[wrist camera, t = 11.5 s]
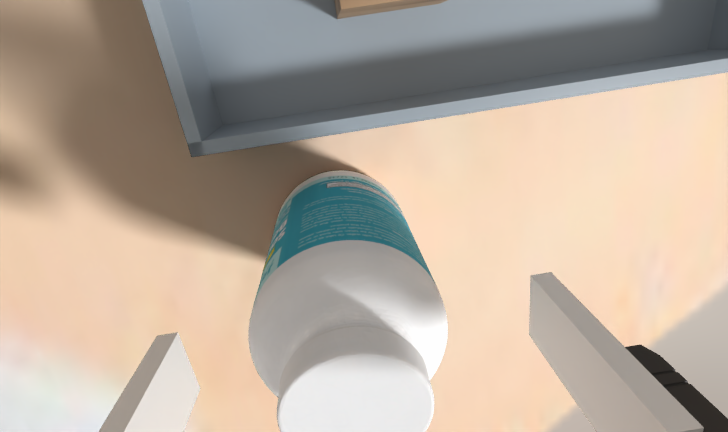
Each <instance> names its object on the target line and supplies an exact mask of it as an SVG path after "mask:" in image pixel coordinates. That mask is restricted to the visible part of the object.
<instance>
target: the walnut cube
mask: <svg viewBox="0 0 728 432" xmlns="http://www.w3.org/2000/svg"><path fill="white" fill-rule="evenodd" d="M334 1H335V8H336V15H337V19H341V18H348V17H355V16H361V15H368V14H375V13H382V12H388V11H395V10H402V9H408V8H415V7H422V6H428V5H435V4H440V3H443V2H445V1H448V0H334Z"/></svg>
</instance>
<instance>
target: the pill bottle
mask: <svg viewBox="0 0 728 432" xmlns="http://www.w3.org/2000/svg"><path fill="white" fill-rule="evenodd" d="M447 337H448V322H447V316H446V311H445V307H444V304H443V300H442V298H441V295H440V293H439V291H438V288H437V286H436V284H435V282H434V280H433V278H432V276H431V274H430V271H429V269H428V267H427V265H426V263H425V261H424V259H423V257H422V255H421V252H420V250H419V248H418V246H417V244H416V242H415V239H414V237H413V235H412V233H411V231H410V229H409V226H408V224H407V222H406V220H405V218H404V216H403V213H402V211H401V209H400V207H399V205H398V203H397V202H396V200H395V198H394V197H393V196H392V194H391V193H390V192H389V191H388V190H387V189H386V188H385V187H384V186H383V185H382V184H380V183H379V182H378V181H376V180H374V179H372V178H371V177H368V176H366V175H364V174H360V173H357V172H352V171H329V172H325V173H321V174H318V175H315V176H313V177H311V178H309V179H307V180H305V181H304V182H302V183H301V184H300V185H298V186H297V187H296V188H295V189H294V190H293V191H292V192H291V193H290V194H289V196H288V197H287V198H286V200H285V201H284V203H283V205H282V207H281V209H280V211H279V214H278V218H277V221H276V225H275V229H274V232H273V236H272V240H271V244H270V248H269V251H268V255H267V258H266V262H265V266H264V269H263V273H262V277H261V281H260V284H259V288H258V291H257V295H256V298H255V301H254V305H253V309H252V313H251V317H250V323H249V348H250V353H251V357H252V360H253V363H254V365H255V368H256V370H257V372H258V374H259V376H260V377H261V379H262V380H263V382H264V383H265V384H266V386H267V387H268V388H269V389H270V390H271V391H272V392H273V393H274V394H275V395H276V396H277V397H278V405H277V420H278V426H279V429H280V432H426V430H427V428H428V426H429V424H430V422H431V420H432V417H433V412H434V395H433V391H432V387H431V383H430V379H431V378H432V377H433V375H434V374H435V372H436V370H437V369H438V367H439V365H440V362H441V360H442V358H443V355H444V352H445V348H446V344H447Z"/></svg>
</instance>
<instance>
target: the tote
mask: <svg viewBox="0 0 728 432" xmlns="http://www.w3.org/2000/svg"><path fill="white" fill-rule="evenodd" d="M142 1H143V5H144V8H145V11H146V14H147V17H148V21H149V24H150V27H151V30H152V33H153V36H154V40H155V43H156V46H157V49H158V52H159V55H160V59H161V62H162V65H163V68H164V71H165V74H166V78H167V81H168V84H169V87H170V90H171V93H172V97H173V100H174V103H175V106H176V109H177V112H178V116H179V119H180V122H181V125H182V128H183V131H184V135H185V138H186V141H187V144H188V147H189V150H190V154H191V157H196V156H202V155H208V154H215V153H221V152H227V151H234V150H240V149H246V148H253V147H259V146H265V145H271V144H278V143H284V142H290V141H297V140H303V139H309V138H316V137H322V136H328V135H335V134H341V133H347V132H353V131H360V130H366V129H372V128H379V127H385V126H391V125H398V124H404V123H410V122H417V121H423V120H429V119H435V118H442V117H448V116H454V115H461V114H467V113H473V112H480V111H486V110H492V109H499V108H505V107H511V106H517V105H524V104H530V103H536V102H543V101H549V100H555V99H562V98H568V97H574V96H581V95H587V94H593V93H599V92H606V91H612V90H618V89H625V88H631V87H637V86H644V85H650V84H656V83H663V82H669V81H675V80H681V79H688V78H694V77H700V76H707V75H713V74H719V73H726V72H728V0H448V1H445V2H443V3H440V4H435V5H428V6H422V7H415V8H408V9H402V10H395V11H388V12H382V13H375V14H368V15H361V16H355V17H348V18H341V19H337V15H336V8H335V1H334V0H142Z"/></svg>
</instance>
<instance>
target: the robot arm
mask: <svg viewBox="0 0 728 432" xmlns="http://www.w3.org/2000/svg"><path fill="white" fill-rule="evenodd" d="M529 335H530V337H531V338H532V340H533V341H534V343H535V344H536V345H537V347H538V348H539V350H540V351H541V353H542V354H543V356H544V357H545V359H546V360H547V361H548V363H549V364H550V366H551V367H552V369H553V370H554V372H555V373H556V374H557V376H558V377H559V379H560V380H561V382H562V383H563V385H564V386H565V387H566V389H567V390H568V392H569V393H570V395H571V396H572V398H573V399H574V400H575V402H576V403H577V405H578V406H579V408H580V409H581V411H582V412H583V413H584V415H585V416H586V418H587V419H588V421H589V422H590V424H591V425H592V426H593V428H594V429H595V431H596V432H728V419H727V418H726V417H725V416H724V415H723V414H722V413H721V412H720V411H719V410H718V409H717V408H716V407H715V406H713V405H712V404H711V403H710V402H709V401H708V400H707V399H706V398H705V397H704V396H703V395H702V394H700V392H699V391H697V390H696V389H695V388H694V387H693V386H692V385H691V384H688V382H687V380H685V378H683V377H682V376H681V375H680V374H679V373H678V372H675V369H674V368H673V367H672V366H671V365H670V364H669V363H667V362H666V361H665V360H664V359H663V358H662V357H661V356H660V355H658V354H656V353H655V352H653V351H651V350H649V349H647V348H646V347H644V346H642V345H635V346H629V347H624V346H623V345H622V344H621V343H620V342H619V341H618V340H617V339H616V338H615V337H614V336H613V335H612V334H611V333H610V332H609V331H608V330H607V329H606V328H605V327H604V326H603V325H602V324H601V323H600V322H599V320H598V319H597V318H596V317H595V316H594V315H593V314H592V313H591V312H590V311H589V310H588V309H587V308H586V307H585V306H584V305H583V304H582V303H581V302H580V301H579V300H578V299H577V298H576V297H575V296H574V295H573V294H572V293H571V292H570V291H569V290H568V289H567V288H566V287H565V286H564V285H563V284H562V283H561V282H560V281H559V280H558V279H557V278H556V277H555V276H554V275H553V274H552V273H551V272H549V273H543V274H537V275H531V284H530V321H529ZM199 391H200V386H199V384H198V381H197V379H196V376H195V374H194V371H193V369H192V366H191V364H190V361H189V359H188V356H187V354H186V351H185V349H184V346H183V344H182V341H181V339H180V336H179V334H178V332H177V333H171V334H165V335H159V336H157V337H156V338H155V340H154V342H153V343H152V345H151V347H150V348H149V350H148V352H147V353H146V355H145V356H144V358H143V360H142V361H141V363H140V365H139V366H138V368H137V370H136V371H135V373H134V374H133V376H132V378H131V379H130V381H129V383H128V384H127V386H126V388H125V389H124V391H123V393H122V394H121V396H120V397H119V399H118V401H117V402H116V404H115V406H114V407H113V409H112V411H111V412H110V414H109V415H108V417H107V419H106V420H105V422H104V424H103V425H102V427H101V429H100V430H99V432H184V430H185V427H186V424H187V422H188V419H189V417H190V414H191V411H192V409H193V406H194V404H195V401H196V399H197V396H198V393H199Z"/></svg>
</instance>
